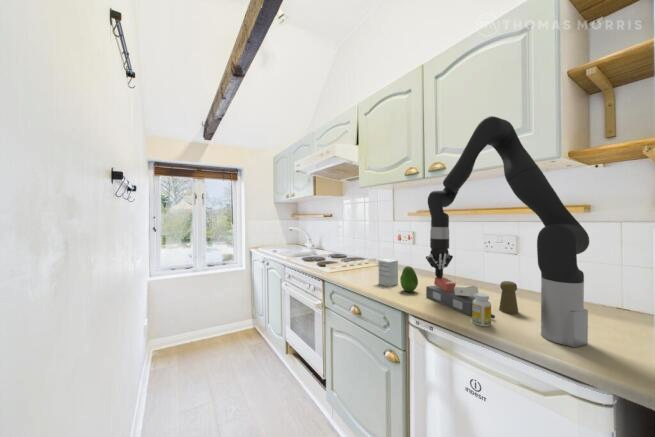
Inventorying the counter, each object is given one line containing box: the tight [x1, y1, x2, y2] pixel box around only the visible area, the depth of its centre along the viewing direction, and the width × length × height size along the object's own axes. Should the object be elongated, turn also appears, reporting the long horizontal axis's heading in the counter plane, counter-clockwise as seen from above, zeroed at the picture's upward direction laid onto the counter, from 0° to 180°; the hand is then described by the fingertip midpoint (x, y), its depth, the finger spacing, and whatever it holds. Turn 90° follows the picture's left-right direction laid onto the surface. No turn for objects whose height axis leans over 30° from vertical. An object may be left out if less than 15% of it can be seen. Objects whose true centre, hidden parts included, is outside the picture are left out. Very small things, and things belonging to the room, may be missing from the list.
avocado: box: [399, 265, 419, 292], centre depth 125 cm, size 8×8×12 cm
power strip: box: [425, 284, 496, 320], centre depth 104 cm, size 29×8×5 cm, turn 19°
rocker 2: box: [454, 285, 479, 296], centre depth 101 cm, size 7×5×3 cm
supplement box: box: [377, 258, 399, 287], centre depth 138 cm, size 7×7×13 cm
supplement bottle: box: [471, 292, 492, 327], centre depth 88 cm, size 5×5×10 cm
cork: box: [498, 280, 519, 315], centre depth 99 cm, size 6×6×11 cm
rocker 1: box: [433, 276, 456, 291], centre depth 111 cm, size 7×5×3 cm
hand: (439, 277), depth 114 cm, fingers closed
